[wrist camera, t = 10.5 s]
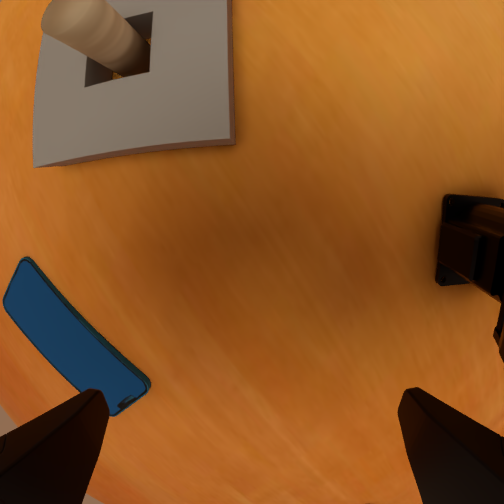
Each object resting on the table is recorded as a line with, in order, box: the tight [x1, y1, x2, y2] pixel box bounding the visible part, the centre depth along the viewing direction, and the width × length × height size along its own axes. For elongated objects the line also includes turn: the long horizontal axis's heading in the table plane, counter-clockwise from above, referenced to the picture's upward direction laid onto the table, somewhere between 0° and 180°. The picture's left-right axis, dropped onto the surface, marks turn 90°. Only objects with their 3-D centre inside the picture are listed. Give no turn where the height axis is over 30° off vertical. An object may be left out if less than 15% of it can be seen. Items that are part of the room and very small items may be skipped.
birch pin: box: [41, 0, 151, 77], centre depth 11 cm, size 3×3×9 cm
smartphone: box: [3, 257, 151, 417], centre depth 21 cm, size 7×1×15 cm
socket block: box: [33, 0, 236, 168], centre depth 14 cm, size 12×12×4 cm
